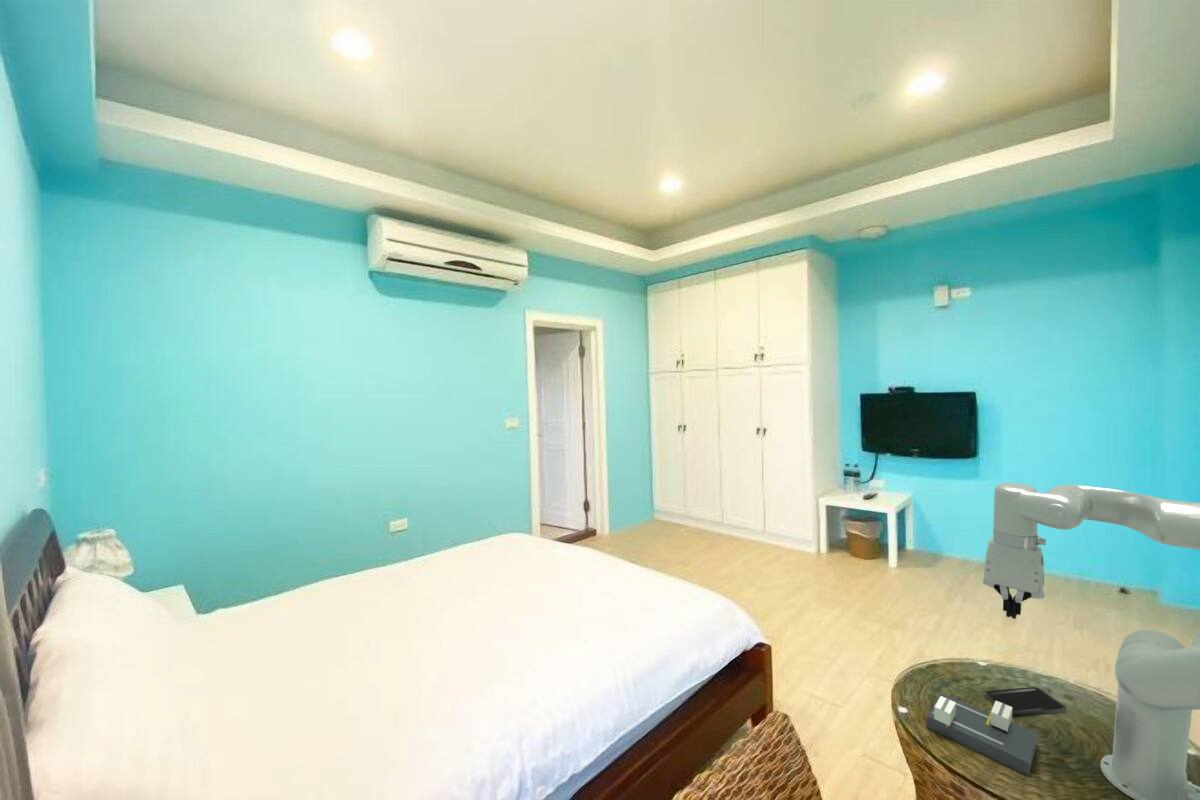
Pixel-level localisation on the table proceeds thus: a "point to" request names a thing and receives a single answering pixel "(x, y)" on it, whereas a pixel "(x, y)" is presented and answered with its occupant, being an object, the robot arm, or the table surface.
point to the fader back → (1001, 715)
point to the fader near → (945, 710)
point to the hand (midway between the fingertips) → (1011, 615)
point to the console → (987, 736)
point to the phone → (1026, 701)
